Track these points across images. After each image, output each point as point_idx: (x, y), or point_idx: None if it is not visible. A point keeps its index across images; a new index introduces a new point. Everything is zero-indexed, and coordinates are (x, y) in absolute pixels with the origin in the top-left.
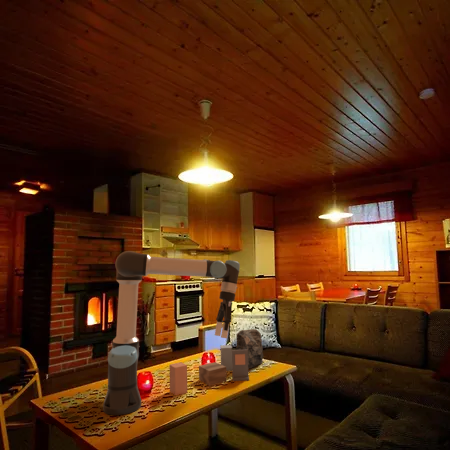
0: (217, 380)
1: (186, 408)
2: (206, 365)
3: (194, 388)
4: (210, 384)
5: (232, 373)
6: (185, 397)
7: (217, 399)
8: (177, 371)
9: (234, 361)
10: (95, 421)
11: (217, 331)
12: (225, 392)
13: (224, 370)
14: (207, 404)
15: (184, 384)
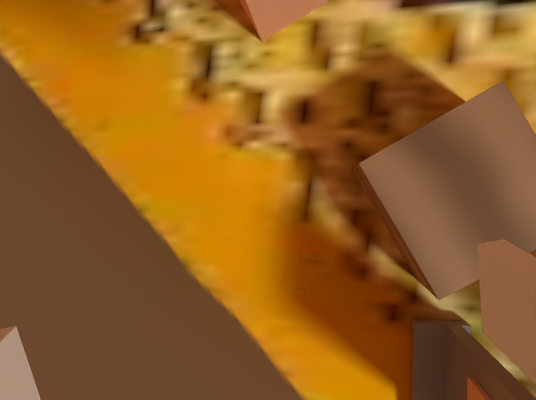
0: (384, 220)
1: (64, 53)
2: (503, 143)
3: (318, 79)
4: (355, 174)
5: (459, 331)
6: (194, 37)
7: (148, 206)
8: None
9: (482, 382)
10: None
11: (523, 308)
12: (234, 254)
13: (424, 279)
14: (96, 154)
15: (245, 7)
